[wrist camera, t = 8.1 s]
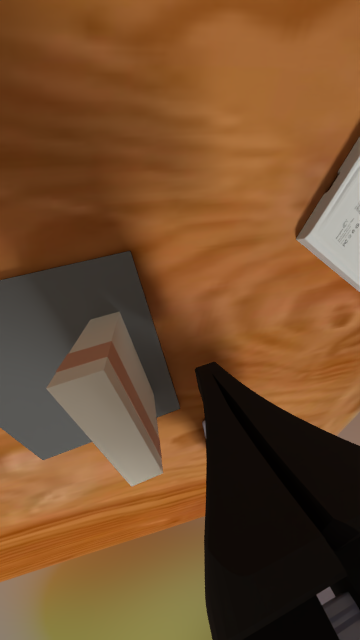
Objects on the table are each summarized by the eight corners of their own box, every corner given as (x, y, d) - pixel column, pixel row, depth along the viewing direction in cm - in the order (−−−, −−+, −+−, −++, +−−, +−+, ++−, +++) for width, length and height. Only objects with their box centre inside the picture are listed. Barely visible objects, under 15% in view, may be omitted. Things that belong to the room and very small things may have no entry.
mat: (179, 405, 17) (180, 408, 17) (45, 455, 15) (42, 460, 15) (130, 250, 10) (130, 250, 10) (-135, 310, 8) (-148, 313, 8)
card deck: (154, 394, 15) (163, 473, 10) (133, 401, 15) (131, 486, 10) (119, 311, 11) (103, 369, 6) (89, 319, 11) (45, 388, 6)
